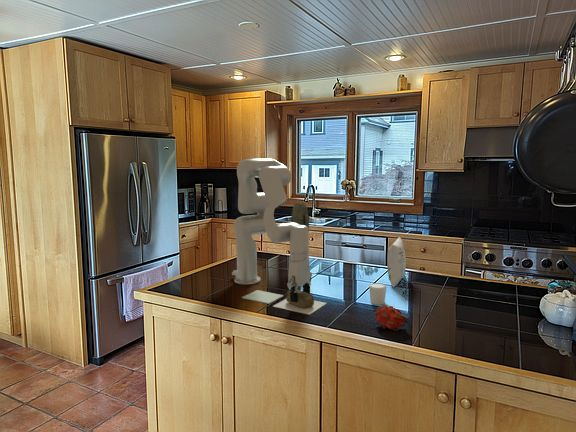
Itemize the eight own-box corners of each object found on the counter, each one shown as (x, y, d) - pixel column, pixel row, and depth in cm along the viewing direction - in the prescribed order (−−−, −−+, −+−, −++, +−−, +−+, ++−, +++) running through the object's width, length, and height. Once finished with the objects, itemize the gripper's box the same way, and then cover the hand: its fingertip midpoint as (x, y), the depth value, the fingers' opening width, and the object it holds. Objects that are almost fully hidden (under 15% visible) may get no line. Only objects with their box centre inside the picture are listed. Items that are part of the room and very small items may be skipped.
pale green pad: (241, 298, 176) (241, 297, 176) (257, 290, 185) (257, 290, 185) (268, 304, 168) (268, 303, 168) (283, 296, 178) (283, 295, 177)
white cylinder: (386, 300, 171) (387, 283, 170) (385, 305, 165) (385, 288, 164) (370, 298, 173) (370, 282, 172) (367, 304, 167) (368, 287, 166)
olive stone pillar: (303, 273, 211) (303, 205, 206) (286, 269, 219) (285, 203, 214) (314, 269, 218) (314, 203, 213) (297, 266, 226) (297, 202, 221)
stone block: (304, 310, 161) (304, 297, 160) (285, 302, 169) (284, 290, 169) (315, 306, 164) (314, 294, 164) (295, 299, 173) (295, 287, 172)
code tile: (272, 306, 166) (272, 305, 165) (291, 296, 177) (291, 295, 177) (309, 314, 156) (309, 314, 156) (326, 303, 168) (326, 302, 168)
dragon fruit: (372, 326, 148) (405, 339, 142) (366, 320, 142) (400, 333, 135) (381, 305, 151) (413, 316, 144) (375, 297, 144) (409, 309, 138)
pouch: (409, 277, 202) (410, 237, 199) (400, 289, 185) (401, 245, 182) (392, 275, 205) (393, 236, 202) (382, 286, 189) (383, 243, 186)
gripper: (302, 251, 173) (303, 290, 175) (279, 260, 159) (280, 303, 161) (318, 253, 169) (319, 293, 171) (296, 262, 155) (297, 306, 157)
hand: (300, 298), depth 166 cm, fingers open, 9 cm apart
